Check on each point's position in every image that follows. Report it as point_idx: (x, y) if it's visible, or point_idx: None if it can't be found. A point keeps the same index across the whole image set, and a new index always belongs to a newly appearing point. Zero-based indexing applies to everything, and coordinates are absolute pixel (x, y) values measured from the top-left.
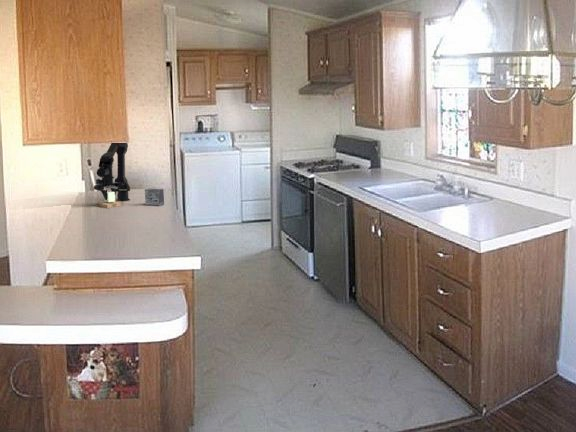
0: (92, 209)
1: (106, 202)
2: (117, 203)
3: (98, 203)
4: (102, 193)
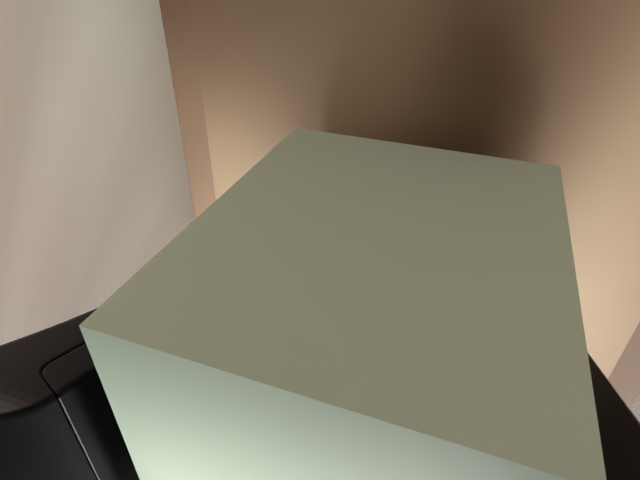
0: (38, 178)
1: (393, 118)
2: None
3: (172, 34)
4: (35, 343)
